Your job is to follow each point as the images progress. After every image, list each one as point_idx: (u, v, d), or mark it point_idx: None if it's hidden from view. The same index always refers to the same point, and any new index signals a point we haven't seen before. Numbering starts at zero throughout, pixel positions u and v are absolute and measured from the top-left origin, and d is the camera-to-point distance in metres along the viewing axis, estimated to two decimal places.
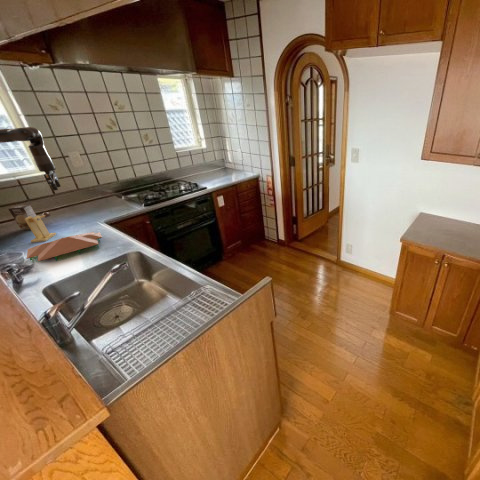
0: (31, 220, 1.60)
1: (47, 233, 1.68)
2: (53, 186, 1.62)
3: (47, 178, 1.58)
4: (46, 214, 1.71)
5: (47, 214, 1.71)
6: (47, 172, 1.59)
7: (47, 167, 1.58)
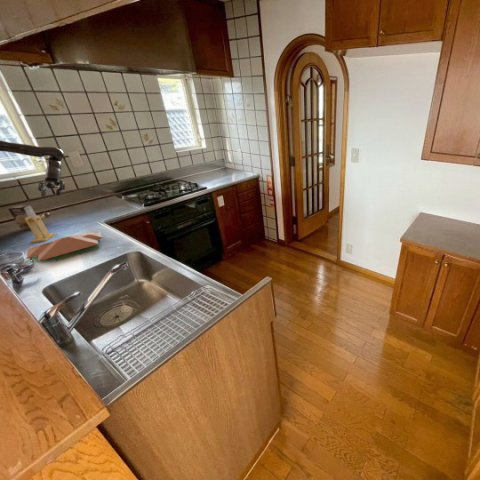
0: (31, 220, 1.60)
1: (47, 233, 1.68)
2: (59, 191, 1.79)
3: (63, 184, 1.80)
4: (46, 214, 1.71)
5: (47, 214, 1.71)
6: (58, 181, 1.81)
7: (60, 178, 1.83)
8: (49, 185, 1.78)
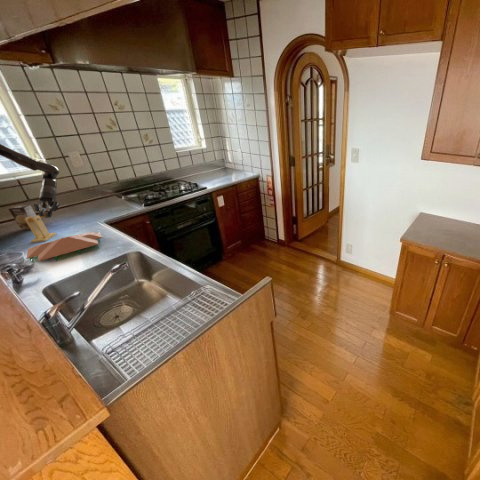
0: (31, 220, 1.60)
1: (47, 233, 1.68)
2: (51, 213, 1.72)
3: (56, 205, 1.73)
4: (46, 214, 1.71)
5: None
6: (53, 200, 1.75)
7: (55, 197, 1.76)
8: (44, 205, 1.72)
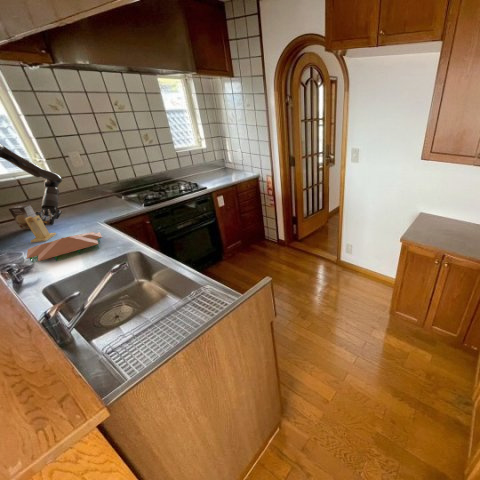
0: (31, 219, 1.60)
1: (47, 233, 1.68)
2: (53, 221, 1.72)
3: (58, 213, 1.74)
4: (48, 221, 1.72)
5: None
6: (56, 208, 1.75)
7: (57, 205, 1.77)
8: (46, 213, 1.72)
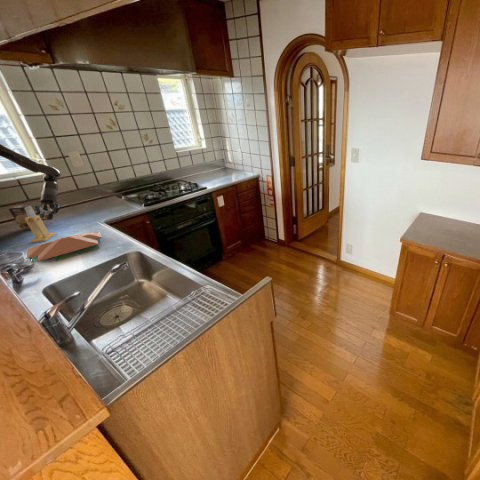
0: (31, 220, 1.60)
1: (47, 233, 1.68)
2: (52, 215, 1.72)
3: (57, 208, 1.74)
4: (47, 216, 1.71)
5: None
6: (54, 202, 1.75)
7: (56, 199, 1.77)
8: (45, 207, 1.72)
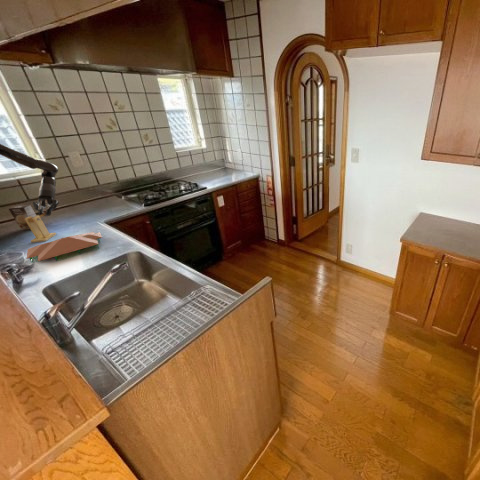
0: (31, 220, 1.61)
1: (47, 233, 1.68)
2: (50, 211, 1.71)
3: (55, 203, 1.73)
4: (45, 213, 1.70)
5: None
6: (53, 198, 1.74)
7: (54, 195, 1.76)
8: (43, 203, 1.71)
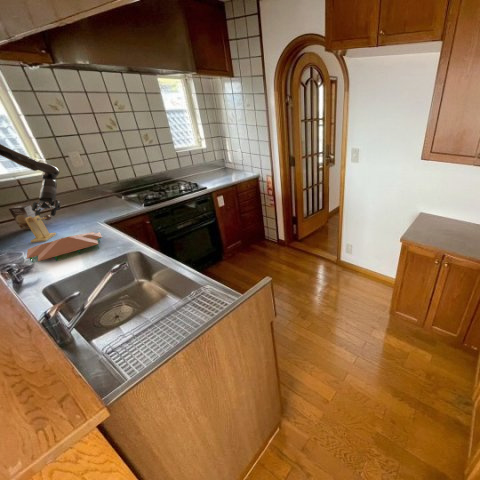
0: (31, 220, 1.60)
1: (47, 233, 1.68)
2: (54, 211, 1.72)
3: (58, 203, 1.74)
4: (47, 217, 1.71)
5: (48, 217, 1.72)
6: (53, 200, 1.75)
7: (55, 197, 1.76)
8: (44, 205, 1.72)
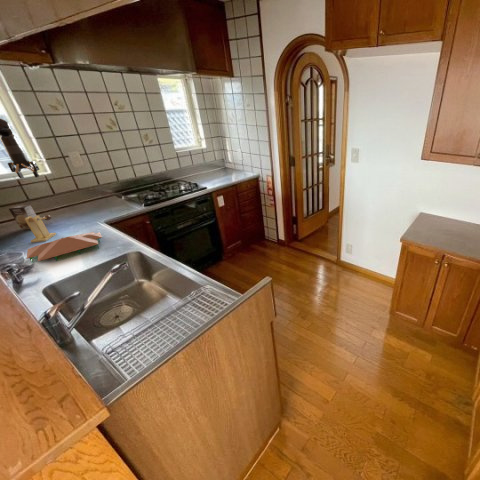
0: (31, 220, 1.60)
1: (47, 233, 1.68)
2: (37, 173, 1.75)
3: (35, 164, 1.72)
4: (47, 217, 1.71)
5: (48, 217, 1.72)
6: (27, 160, 1.71)
7: None
8: (21, 167, 1.70)
